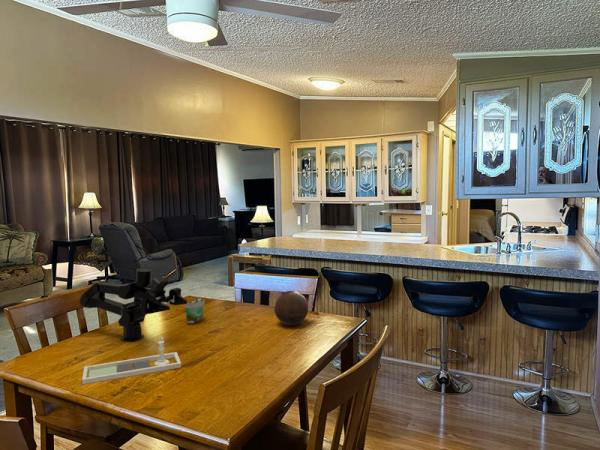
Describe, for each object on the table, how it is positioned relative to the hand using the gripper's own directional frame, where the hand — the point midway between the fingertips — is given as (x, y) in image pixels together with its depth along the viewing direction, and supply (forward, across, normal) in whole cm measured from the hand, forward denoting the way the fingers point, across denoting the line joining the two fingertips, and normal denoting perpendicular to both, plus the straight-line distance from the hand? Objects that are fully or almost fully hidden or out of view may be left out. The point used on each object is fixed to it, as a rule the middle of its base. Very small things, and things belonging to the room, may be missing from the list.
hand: (178, 305), depth 161 cm
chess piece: (+7, -14, +16) cm, 23 cm away
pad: (-5, -28, +17) cm, 34 cm away
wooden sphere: (+27, +43, +14) cm, 53 cm away
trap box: (+1, -21, +17) cm, 27 cm away
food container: (-14, +29, +19) cm, 37 cm away
